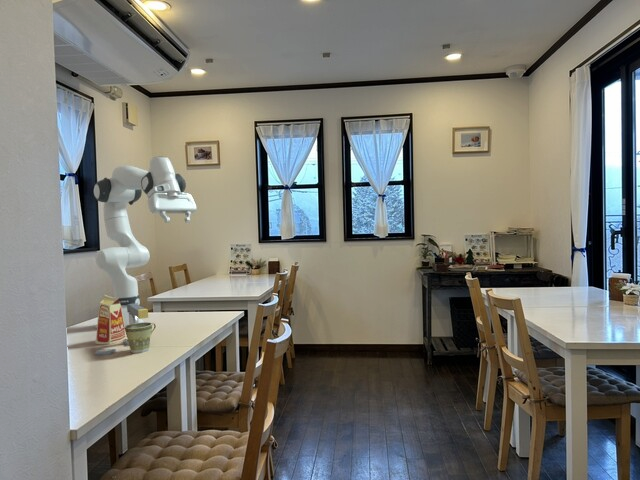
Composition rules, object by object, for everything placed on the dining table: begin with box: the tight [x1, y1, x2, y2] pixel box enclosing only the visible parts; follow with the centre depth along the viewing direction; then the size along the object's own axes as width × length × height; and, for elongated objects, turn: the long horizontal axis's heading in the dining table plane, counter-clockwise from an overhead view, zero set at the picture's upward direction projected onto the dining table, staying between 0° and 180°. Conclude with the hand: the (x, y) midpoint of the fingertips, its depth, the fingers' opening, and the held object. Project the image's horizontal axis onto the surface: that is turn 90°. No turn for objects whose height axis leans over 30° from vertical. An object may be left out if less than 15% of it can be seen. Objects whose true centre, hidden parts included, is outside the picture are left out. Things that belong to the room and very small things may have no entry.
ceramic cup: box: [125, 321, 156, 354], centre depth 178 cm, size 13×10×10 cm
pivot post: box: [122, 313, 139, 347], centre depth 190 cm, size 8×8×12 cm
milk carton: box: [95, 294, 127, 345], centre depth 194 cm, size 9×9×20 cm
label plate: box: [95, 348, 117, 355], centre depth 177 cm, size 6×4×1 cm, turn 80°
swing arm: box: [127, 303, 149, 320], centre depth 184 cm, size 20×4×3 cm, turn 35°
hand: (178, 222), depth 185 cm, fingers open, 8 cm apart
